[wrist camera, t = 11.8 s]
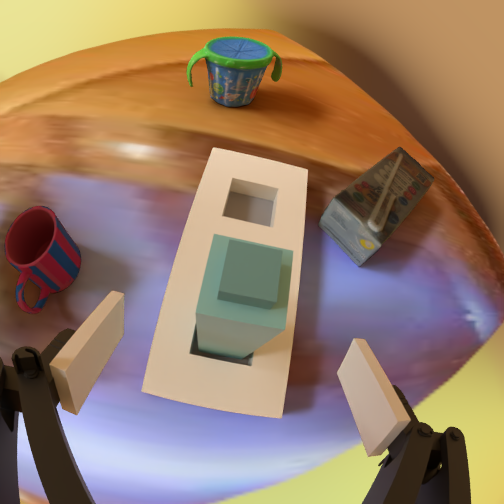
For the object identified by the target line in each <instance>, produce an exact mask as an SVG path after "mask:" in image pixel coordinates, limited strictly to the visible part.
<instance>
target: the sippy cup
mask: <svg viewBox="0 0 504 504" xmlns="http://www.w3.org/2000/svg"><path fill="white" fill-rule="evenodd" d="M273 56H275V57H276V61H275V65H274V70H273V72H272V75H271V78H272V80H273V81H275V82H277V81H278V80H279V79H280V77H281V73H282V60H281V58H280V57H279V55H278V54H277V53H276V52H274V51H273V50H272V49H271V48H270V47H269V46H267V45H266V44H264V43H262V42H260V41H257V40H253V39H249V38H244V37H221V38H216V39H213V40H211V41H209V42H207V43H206V45H205V47H204V48H203V49H201V50H200V51H198V52H196V53H195V55H194V56H193V57H192V58H191V60H190V62H189V64H188V67H187V78H188V81H189V84H190V86H191V87H193V85H192V74H191V70H192V67H193V65H194V64H195V63H196V62H197V61H198V60H199V59H201V58H205V60H206V64H207V68H208V78H209V89H210V95H211V98H212V99H214V100H215V101H216V102H217V103H219V104H222V105H225V106H227V107H230V106H231V107H238V106H243V105H248V104H250V102H251V101H252V100H253V99H254V97H255V94H256V92H257V90H258V87H259V84H260V82H261V80H262V77H263V75H264V72H265V70H266V68H267V66H268V65H269V63H270V62H271V61H272V58H273Z"/></svg>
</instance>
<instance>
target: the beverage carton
mask: <svg viewBox="0 0 504 504" xmlns="http://www.w3.org/2000/svg"><path fill="white" fill-rule="evenodd" d="M433 181H434V177H433V176H431V175H430V174H429V173H428V172H427V171H426V170H425V169H424V168H423V167H421V165H420V164H419V163H418V162H417V161H416V160H415V159H413V158H412V157H411V156H410V155H409V154H408V153H407V152H406V151H405V150H403V149H402V148H401V147H398V148H397V149H395V150H394V151H393V152H391V153H390V154H388V155H387V156H386V157H384V158H383V159H382V160H381V161H379V162H378V163H377V164H375V165H374V166H373V167H372V168H370V169H369V170H368V171H366V172H365V173H364V174H363V175H361V176H360V177H359V178H358V179H356V180H355V181H354V182H353V183H351V184H350V185H349V186H348V187H347V188H346V189H344V190H342V191H341V192H340V193H339V194H337V195H336V196H335V197H334V198H333V199H332V200H331V202H330V204H329V205H328V206H327V208H326V210H325V211H324V213H323V214H322V216H321V219H320V221H319V224H318V226H319V227H320V228H321V229H322V230H324V231H325V232H326V233H327V234H328V235H329V236H330V237H331V238H332V239H333V240H334V241H335V243H336V244H337V245H338V246H339V247H340V248H341V249H342V250H343V251H344V252H345V253H346V254H347V255H348V256H349V257H350V258H351V260H352V261H353V262H354V263H355V264H356V265H357V266H361V265H362V264H363V263H364V262H366V261H367V260H368V259H369V258H370V257H371V256H373V255H374V254H375V253H376V252H377V251H378V250H379V249H380V247H381V246H382V244H383V243H384V242H385V241H386V240H387V239H388V238H389V237H390V236H391V235H392V234H393V233H394V231H395V230H396V229H397V228H398V226H399V225H400V224H401V223H402V222H403V220H404V219H405V218H406V217H407V216H408V215H409V213H410V212H411V211H412V210H413V209H414V207H415V206H416V205H417V203H418V202H419V201H420V200H421V198H422V197H423V196H424V194H425V193H426V192H427V190H428V189H429V188H430V186H431V184H432V183H433Z"/></svg>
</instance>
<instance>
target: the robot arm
mask: <svg viewBox="0 0 504 504" xmlns="http://www.w3.org/2000/svg"><path fill="white" fill-rule="evenodd" d="M123 335H124V293H120V292H116V291H113V290H112V291H111V292H110V293H109V294H108V295H107V297H106V298H105V299H104V300H103V301H102V302H101V303H100V304H99V305H98V307H97V308H96V309H95V310H94V311H93V312H92V313H91V315H90V316H89V317H88V318H87V319H86V320H85V321H84V323H83V324H82V325H81V326H80V327H79V329H78V330H77V331H74V330H71V329H69V328H67V329H66V330H64V331H62V332H60V333H59V334H58V335H57V336H56V337H55V338H54V340H53V341H52V342H51V343H50V345H48V346H47V347H46V349H45V350H44V351H43V352H42V353H41V354H40V353H39V351H37V350H36V349H35V348H32V347H21V348H19V349H17V350H15V352H14V353H13V354H12V361H13V365H14V367H10V366H6V365H4V364H3V361H2V359H1V358H0V504H20V498H19V488H18V472H17V432H18V416H19V412H22V413H23V418H24V423H25V427H26V432H27V436H28V440H29V444H30V447H31V451H32V455H33V458H34V461H35V465H36V468H37V471H38V474H39V477H40V480H41V482H42V485H43V488H44V490H45V493H46V496H47V498H48V500H49V503H50V504H96V503H95V501H94V500H93V498H92V496H91V494H90V492H89V490H88V488H87V486H86V484H85V482H84V480H83V477H82V475H81V473H80V471H79V469H78V466H77V464H76V462H75V459H74V457H73V454H72V452H71V449H70V447H69V444H68V441H67V439H66V436H65V433H64V430H63V427H62V424H61V421H60V418H59V415H58V411H57V408H56V406H57V405H58V403H59V401H60V403H61V406H62V409H64V410H66V411H68V412H70V413H73V414H75V415H78V413H79V411H80V409H81V407H82V405H83V403H84V402H85V400H86V398H87V396H88V394H89V393H90V391H91V389H92V387H93V385H94V384H95V382H96V380H97V378H98V377H99V375H100V373H101V371H102V370H103V368H104V366H105V365H106V363H107V361H108V360H109V358H110V356H111V355H112V353H113V351H114V350H115V348H116V346H117V345H118V343H119V341H120V340H121V338H122V336H123ZM337 375H338V377H339V380H340V382H341V385H342V388H343V390H344V393H345V395H346V398H347V401H348V403H349V406H350V409H351V411H352V414H353V417H354V419H355V422H356V425H357V428H358V430H359V433H360V436H361V439H362V441H363V444H364V447H365V450H366V452H367V455H368V457H370V456H378V455H381V454H382V453H383V452H384V451H385V450H386V449H387V448H388V451H389V454H388V455H387V456H386V457H385V458H384V459H383V460H382V461H381V462H380V463H379V465H378V466H380V465H381V464H383V465H382V466H381V469H380V471H379V473H378V475H377V477H376V479H375V481H374V482H373V484H372V486H371V488H370V490H369V492H368V494H367V495H366V497H365V499H364V501H363V502H362V504H471V493H470V478H469V468H468V459H467V452H466V445H465V439H464V435H463V433H462V432H461V431H460V430H459V429H458V428H455V427H449V428H447V429H446V431H445V432H444V433H438V432H434V431H433V429H432V428H431V427H430V426H429V425H427V424H426V423H422V422H419V421H418V419H417V418H416V416H415V415H414V412H413V410H412V409H411V407H410V405H408V402H407V400H406V399H405V396H404V395H403V393H402V391H401V390H400V389H399V388H398V387H397V386H395V385H391V383H390V381H389V380H388V378H387V376H386V374H385V373H384V371H383V369H382V367H381V366H380V364H379V362H378V361H377V359H376V357H375V355H374V354H373V352H372V350H371V349H370V347H369V345H368V344H367V342H366V340H365V339H358V338H354V339H353V341H352V343H351V346H350V348H349V350H348V352H347V354H346V356H345V358H344V360H343V362H342V364H341V366H340V368H339V370H338V372H337ZM441 464H442V467H441V468H440V465H441Z"/></svg>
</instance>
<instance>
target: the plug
mask: <svg viewBox="0 0 504 504" xmlns="http://www.w3.org/2000/svg"><path fill="white" fill-rule="evenodd" d="M292 261H293V251H292V250H287V249H283V248H278V247H274V246H269V245H264V244H260V243H255V242H251V241H246V240H241V239H237V238H232V237H227V236H223V235H218V234H214V236H213V240H212V244H211V248H210V252H209V256H208V260H207V264H206V268H205V273H204V277H203V281H202V286H201V290H200V294H199V299H198V303H197V308H196V312H195V314H196V326H197V338H198V348H199V352H203V353H208V354H213V355H218V356H223V357H229V358H234V359H240V360H241V359H243V358H244V357H246V356H247V355H249V354H250V353H252V352H253V351H255V350H256V349H258V348H259V347H261V346H262V345H264V344H265V343H267V342H268V341H270V340H271V339H273V338H274V337H275V336H277V335H278V334H280V333H281V332H283V331H284V330H285V327H286V318H287V309H288V301H289V291H290V282H291V272H292Z"/></svg>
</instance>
